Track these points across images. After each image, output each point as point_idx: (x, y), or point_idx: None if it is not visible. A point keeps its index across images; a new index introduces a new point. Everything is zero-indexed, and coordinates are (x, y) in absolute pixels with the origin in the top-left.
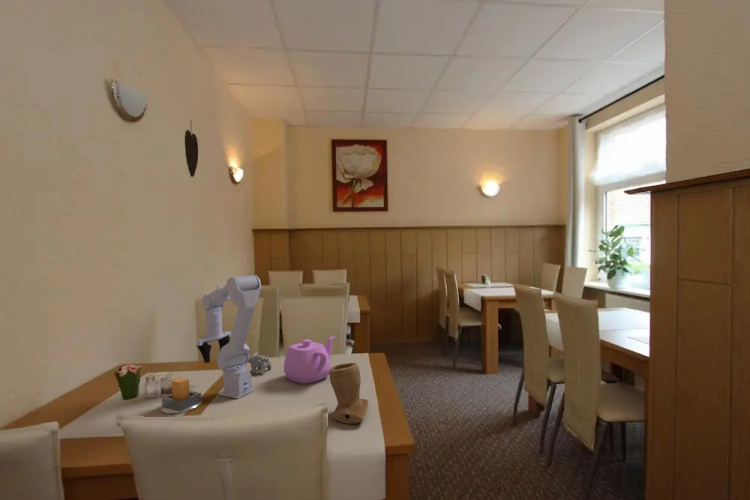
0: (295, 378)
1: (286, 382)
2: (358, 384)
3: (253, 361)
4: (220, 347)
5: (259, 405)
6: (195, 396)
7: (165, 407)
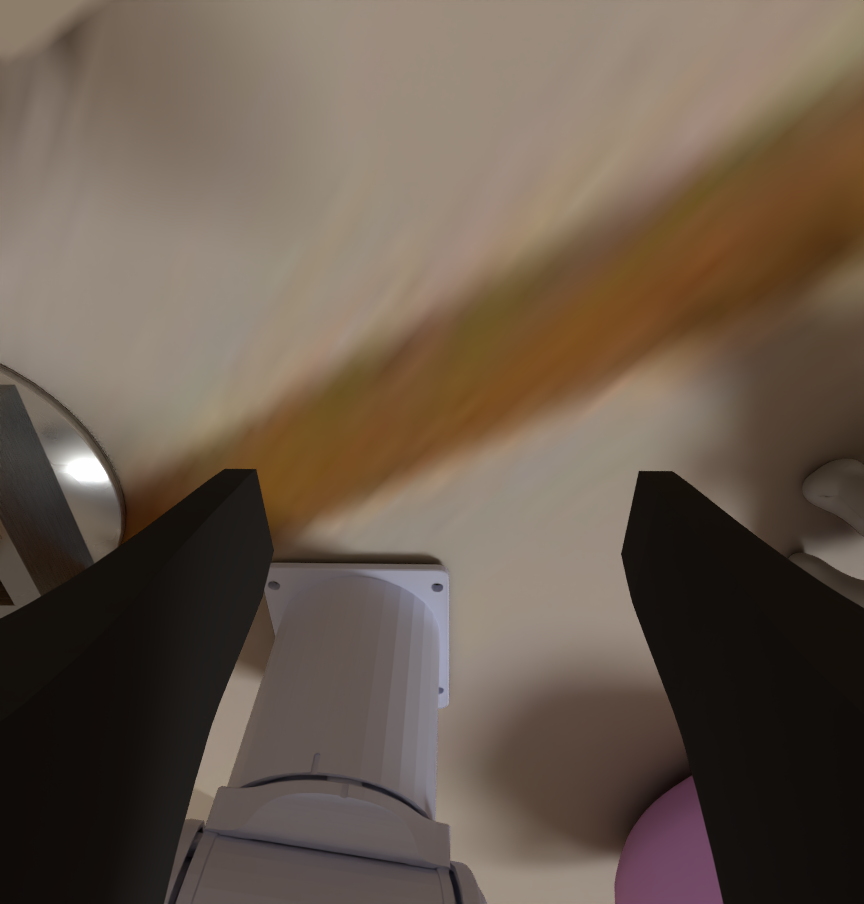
0: (623, 863)
1: (650, 763)
2: None
3: None
4: (737, 612)
5: None
6: None
7: None
